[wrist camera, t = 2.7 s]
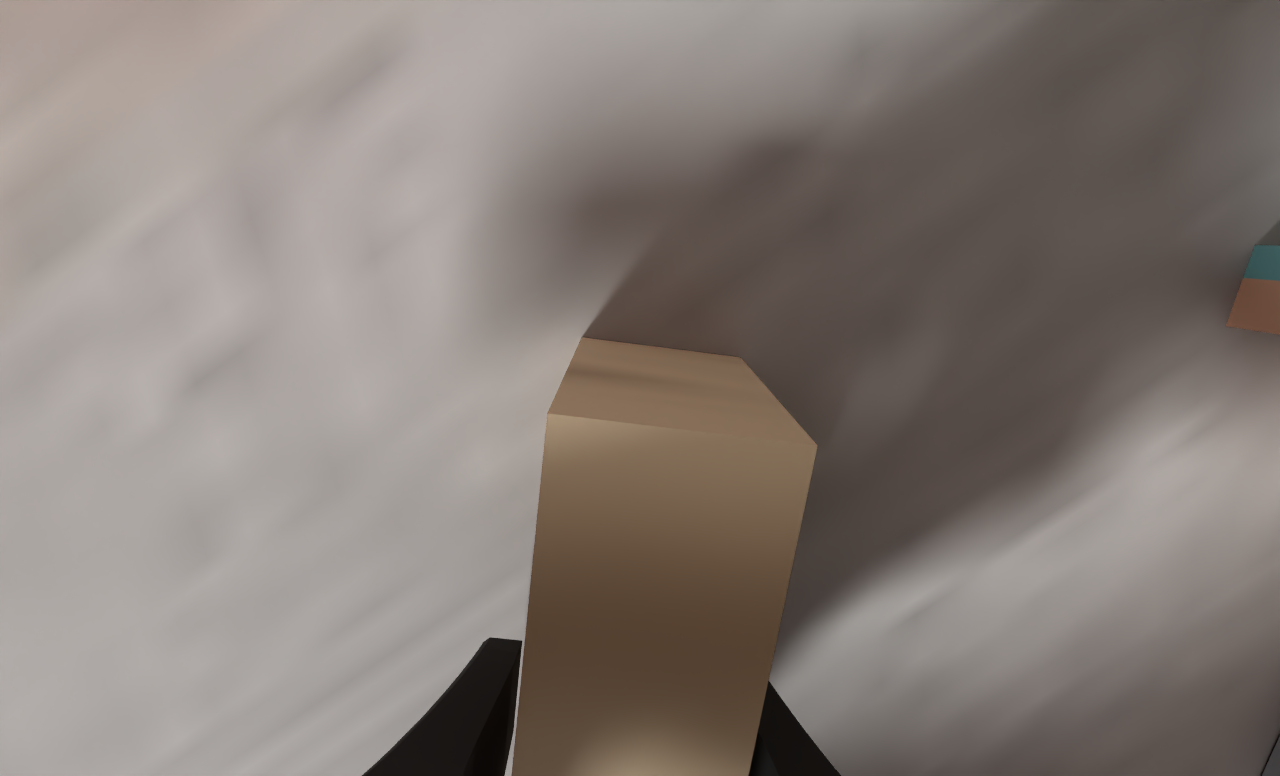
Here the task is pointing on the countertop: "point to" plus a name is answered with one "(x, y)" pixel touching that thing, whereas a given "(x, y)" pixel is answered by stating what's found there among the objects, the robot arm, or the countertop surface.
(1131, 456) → the countertop surface
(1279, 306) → the tile
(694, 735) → the tall tan prism
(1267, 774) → the plate
